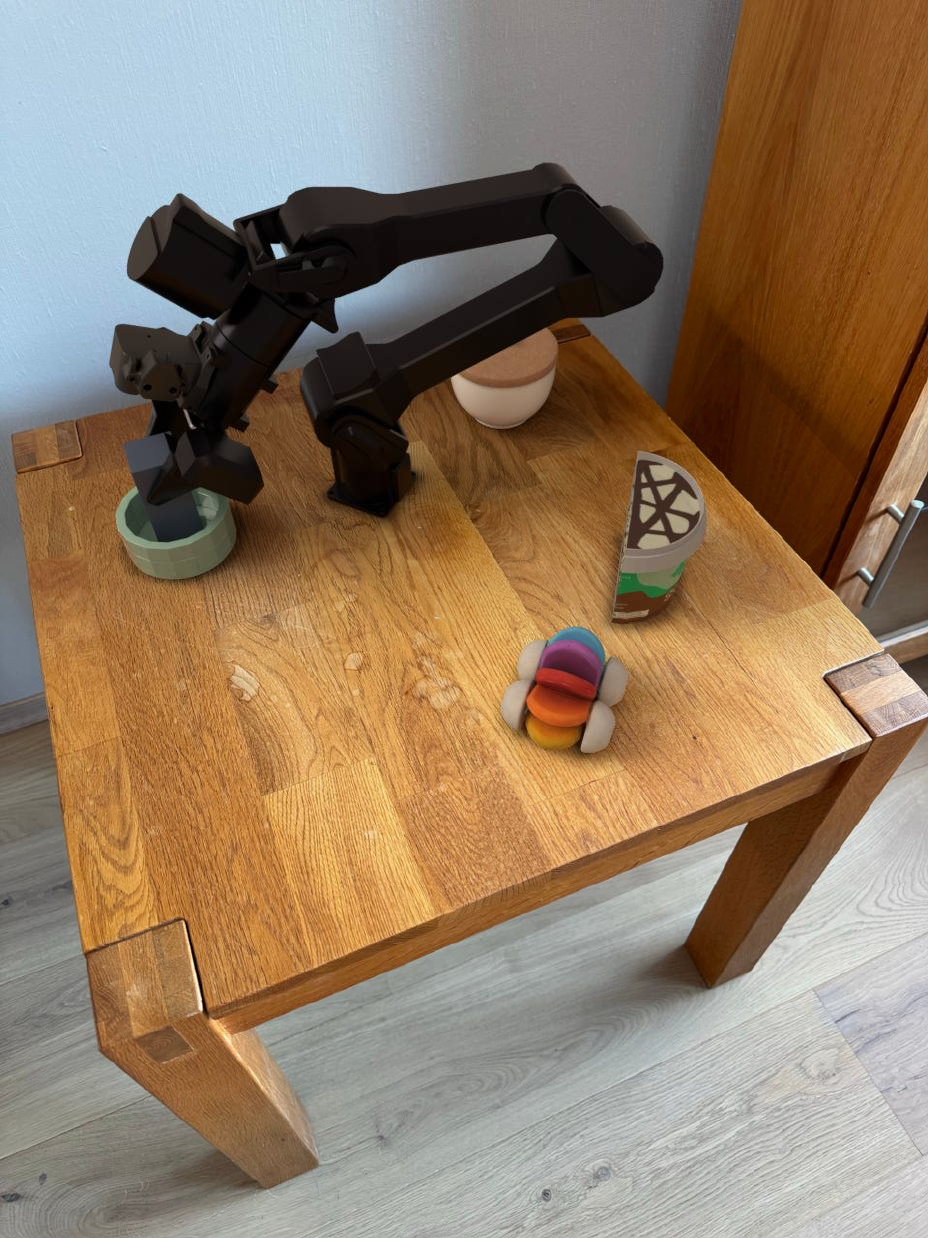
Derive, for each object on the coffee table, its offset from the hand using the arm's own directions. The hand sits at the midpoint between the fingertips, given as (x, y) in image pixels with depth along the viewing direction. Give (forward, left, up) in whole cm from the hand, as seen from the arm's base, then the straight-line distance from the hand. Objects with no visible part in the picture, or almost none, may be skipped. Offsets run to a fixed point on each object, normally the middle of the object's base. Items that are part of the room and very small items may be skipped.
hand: (146, 486), depth 77 cm
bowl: (+1, +1, -7) cm, 7 cm away
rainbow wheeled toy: (+39, 0, -7) cm, 40 cm away
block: (+1, +1, -7) cm, 7 cm away
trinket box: (+19, +31, -7) cm, 37 cm away
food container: (+41, +15, -7) cm, 44 cm away
